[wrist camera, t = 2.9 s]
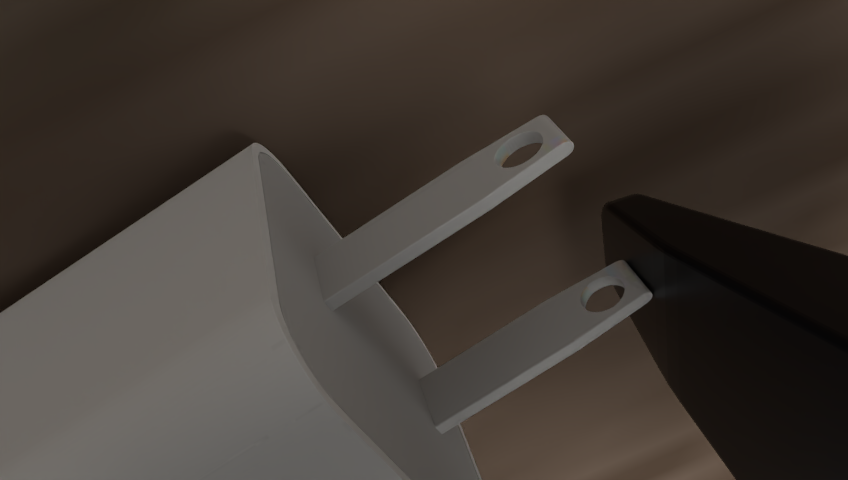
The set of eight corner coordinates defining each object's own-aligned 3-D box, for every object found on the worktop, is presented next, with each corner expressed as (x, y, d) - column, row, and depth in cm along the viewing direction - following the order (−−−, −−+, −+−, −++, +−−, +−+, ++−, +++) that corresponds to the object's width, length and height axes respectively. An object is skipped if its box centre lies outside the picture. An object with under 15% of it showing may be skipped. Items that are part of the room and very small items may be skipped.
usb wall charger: (-68, 334, 9) (-227, 676, 6) (450, -16, 8) (617, 136, 5) (170, 508, 11) (157, 829, 8) (594, 243, 10) (777, 468, 7)
